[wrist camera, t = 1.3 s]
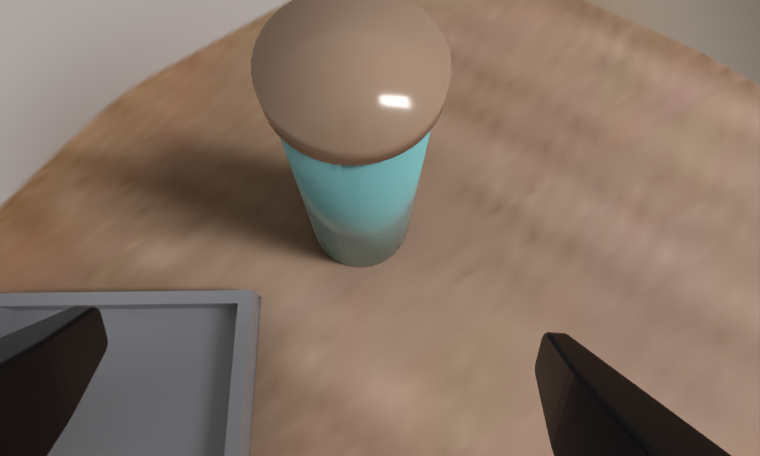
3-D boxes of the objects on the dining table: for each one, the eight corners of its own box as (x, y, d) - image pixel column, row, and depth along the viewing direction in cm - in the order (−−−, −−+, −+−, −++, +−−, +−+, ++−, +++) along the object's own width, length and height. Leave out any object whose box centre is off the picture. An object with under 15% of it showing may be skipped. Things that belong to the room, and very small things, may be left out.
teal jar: (413, 270, 23) (458, 148, 11) (308, 271, 23) (242, 149, 11) (409, 175, 25) (445, -15, 13) (311, 176, 25) (258, -16, 13)
